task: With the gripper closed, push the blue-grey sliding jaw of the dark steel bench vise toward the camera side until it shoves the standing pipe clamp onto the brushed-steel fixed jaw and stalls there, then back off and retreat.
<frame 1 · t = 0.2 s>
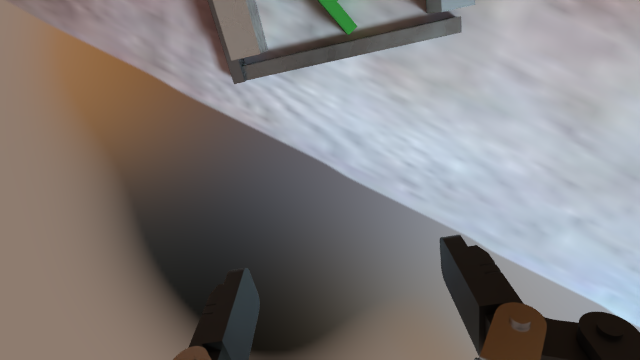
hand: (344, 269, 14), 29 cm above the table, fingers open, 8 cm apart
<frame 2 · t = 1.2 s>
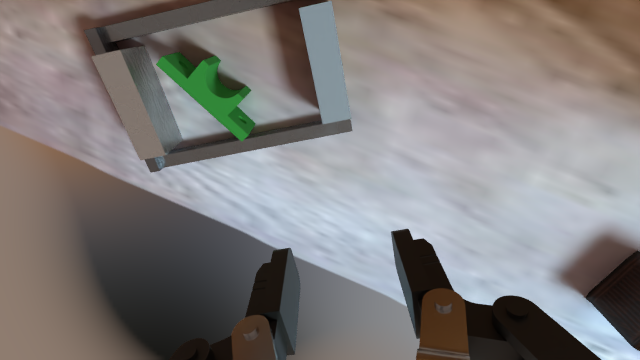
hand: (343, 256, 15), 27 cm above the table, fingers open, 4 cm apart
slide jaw: (326, 63, 35), point 3 cm above the table, slide at 6.0 cm
vise: (226, 82, 38), on the table
pipe clamp: (224, 85, 39), on the table
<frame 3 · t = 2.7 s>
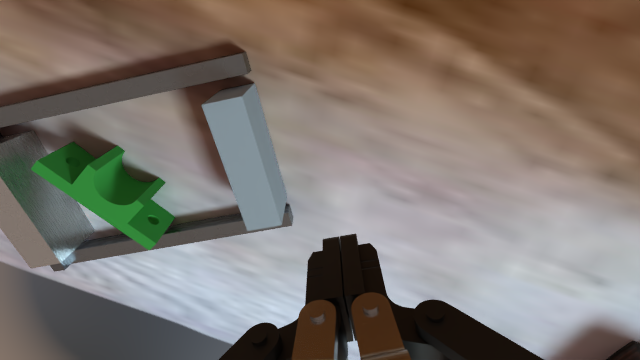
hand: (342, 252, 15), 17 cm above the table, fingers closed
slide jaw: (251, 157, 28), point 3 cm above the table, slide at 6.0 cm
vise: (138, 170, 31), on the table
pipe clamp: (133, 176, 32), on the table
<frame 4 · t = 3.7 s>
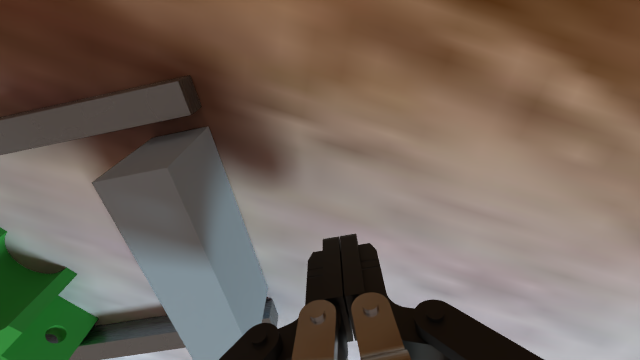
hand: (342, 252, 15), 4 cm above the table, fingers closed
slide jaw: (203, 249, 17), point 3 cm above the table, slide at 6.0 cm
vise: (36, 253, 20), on the table
pipe clamp: (28, 264, 21), on the table
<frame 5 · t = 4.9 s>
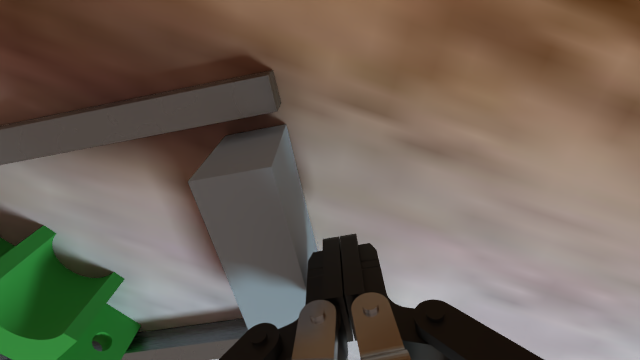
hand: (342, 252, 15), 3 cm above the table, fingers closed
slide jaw: (277, 254, 16), point 3 cm above the table, slide at 6.0 cm, touching gripper
vise: (90, 255, 19), on the table
pipe clamp: (73, 268, 20), on the table
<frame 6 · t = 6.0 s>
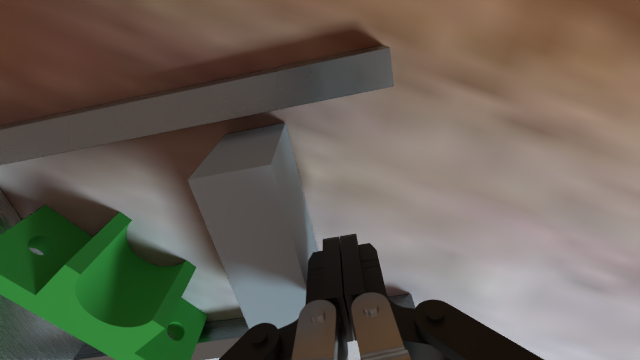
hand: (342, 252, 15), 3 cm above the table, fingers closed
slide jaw: (277, 252, 16), point 3 cm above the table, slide at 1.1 cm, touching gripper
vise: (171, 242, 19), on the table
pipe clamp: (143, 256, 20), on the table
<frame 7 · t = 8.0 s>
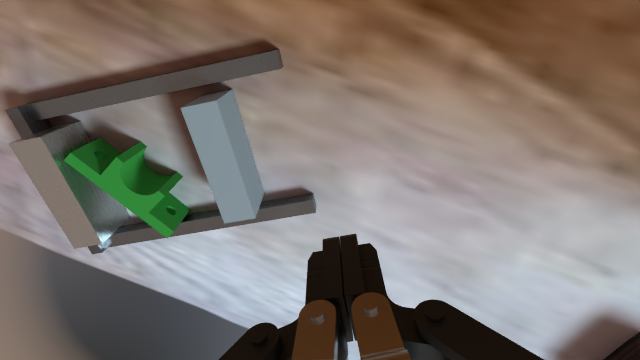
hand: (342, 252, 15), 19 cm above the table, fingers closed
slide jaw: (228, 156, 31), point 3 cm above the table, slide at 0.9 cm
vise: (174, 159, 34), on the table
pipe clamp: (153, 170, 35), on the table, touching vise
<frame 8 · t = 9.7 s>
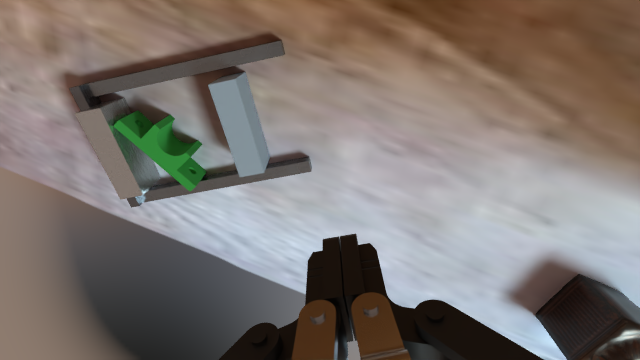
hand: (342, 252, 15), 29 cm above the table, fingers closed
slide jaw: (242, 124, 40), point 3 cm above the table, slide at 0.9 cm
vise: (198, 128, 43), on the table
pipe clamp: (178, 139, 44), on the table, touching vise
manual coffee grinder: (588, 310, 56), on the table
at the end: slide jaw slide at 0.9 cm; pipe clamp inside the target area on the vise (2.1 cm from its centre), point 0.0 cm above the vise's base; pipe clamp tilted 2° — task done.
